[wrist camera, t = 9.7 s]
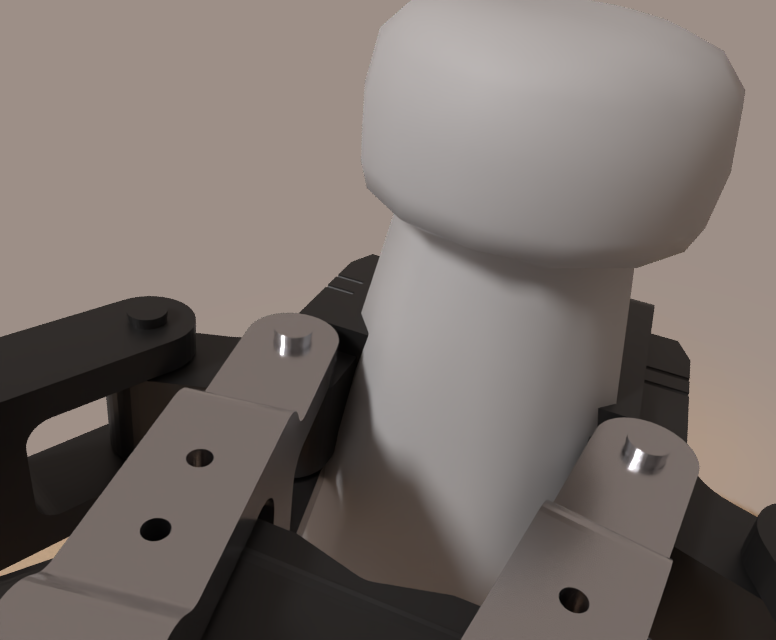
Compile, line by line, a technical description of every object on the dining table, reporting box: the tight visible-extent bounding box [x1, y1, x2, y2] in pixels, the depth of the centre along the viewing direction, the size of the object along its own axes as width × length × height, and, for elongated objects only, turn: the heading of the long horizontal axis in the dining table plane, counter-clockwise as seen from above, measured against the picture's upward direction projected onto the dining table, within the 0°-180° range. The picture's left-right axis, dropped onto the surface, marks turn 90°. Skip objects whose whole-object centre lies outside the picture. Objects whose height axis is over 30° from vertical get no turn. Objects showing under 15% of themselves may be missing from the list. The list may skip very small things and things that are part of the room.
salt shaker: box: [302, 0, 745, 606], centre depth 11 cm, size 6×6×13 cm
